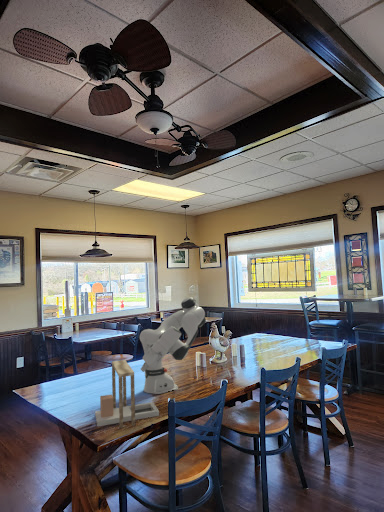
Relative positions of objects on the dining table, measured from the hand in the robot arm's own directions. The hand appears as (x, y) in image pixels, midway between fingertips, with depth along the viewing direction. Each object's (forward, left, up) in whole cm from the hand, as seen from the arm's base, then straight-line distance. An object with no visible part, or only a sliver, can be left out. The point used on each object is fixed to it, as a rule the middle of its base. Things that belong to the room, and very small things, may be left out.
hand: (141, 370), depth 190 cm
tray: (+9, 0, -23) cm, 24 cm away
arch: (+11, 0, -23) cm, 25 cm away
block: (+19, 0, -20) cm, 28 cm away
